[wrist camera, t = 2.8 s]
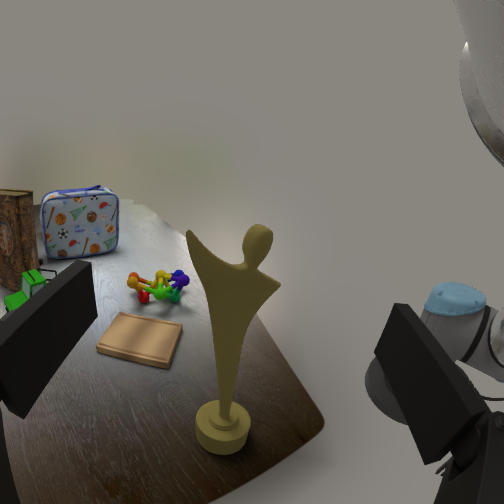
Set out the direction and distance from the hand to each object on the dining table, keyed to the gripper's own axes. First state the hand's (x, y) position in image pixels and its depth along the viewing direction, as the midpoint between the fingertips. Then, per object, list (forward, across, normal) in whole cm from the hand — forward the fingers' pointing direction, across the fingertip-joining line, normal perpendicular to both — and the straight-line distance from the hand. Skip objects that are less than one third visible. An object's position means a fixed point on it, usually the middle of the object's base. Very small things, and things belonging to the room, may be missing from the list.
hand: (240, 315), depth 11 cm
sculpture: (+13, 0, -30) cm, 32 cm away
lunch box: (+65, -51, -30) cm, 88 cm away
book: (+38, -56, -30) cm, 74 cm away
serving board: (+31, -17, -30) cm, 46 cm away
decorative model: (+47, -18, -30) cm, 58 cm away
